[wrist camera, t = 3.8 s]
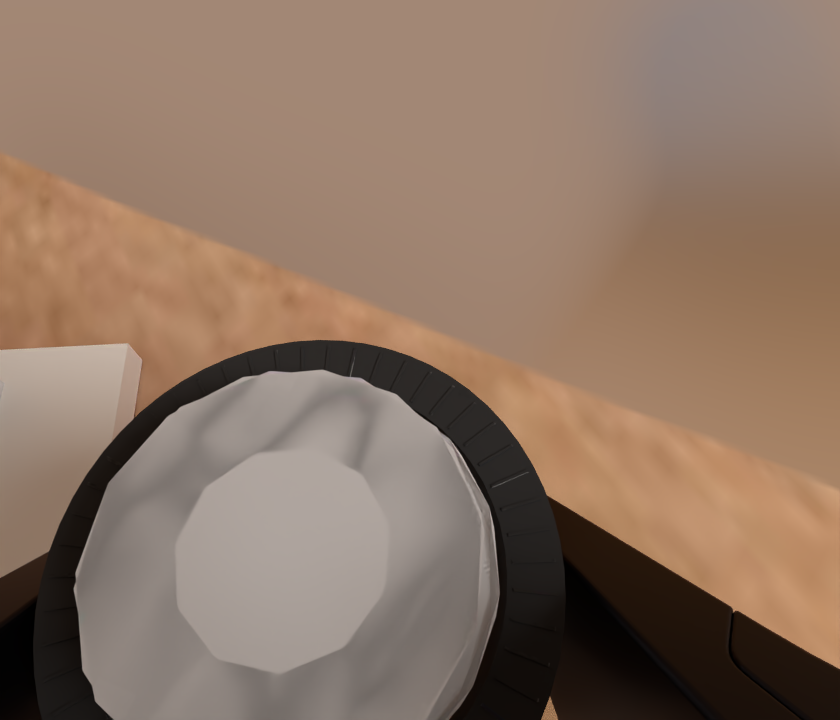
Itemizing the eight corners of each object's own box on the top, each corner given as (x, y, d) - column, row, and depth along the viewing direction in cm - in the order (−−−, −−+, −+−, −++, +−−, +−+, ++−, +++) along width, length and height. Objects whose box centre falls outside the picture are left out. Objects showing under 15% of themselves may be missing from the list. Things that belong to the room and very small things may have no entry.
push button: (420, 880, 12) (406, 1473, 3) (186, 770, 13) (-343, 993, 4) (513, 554, 15) (643, 384, 6) (315, 482, 16) (172, 239, 7)
